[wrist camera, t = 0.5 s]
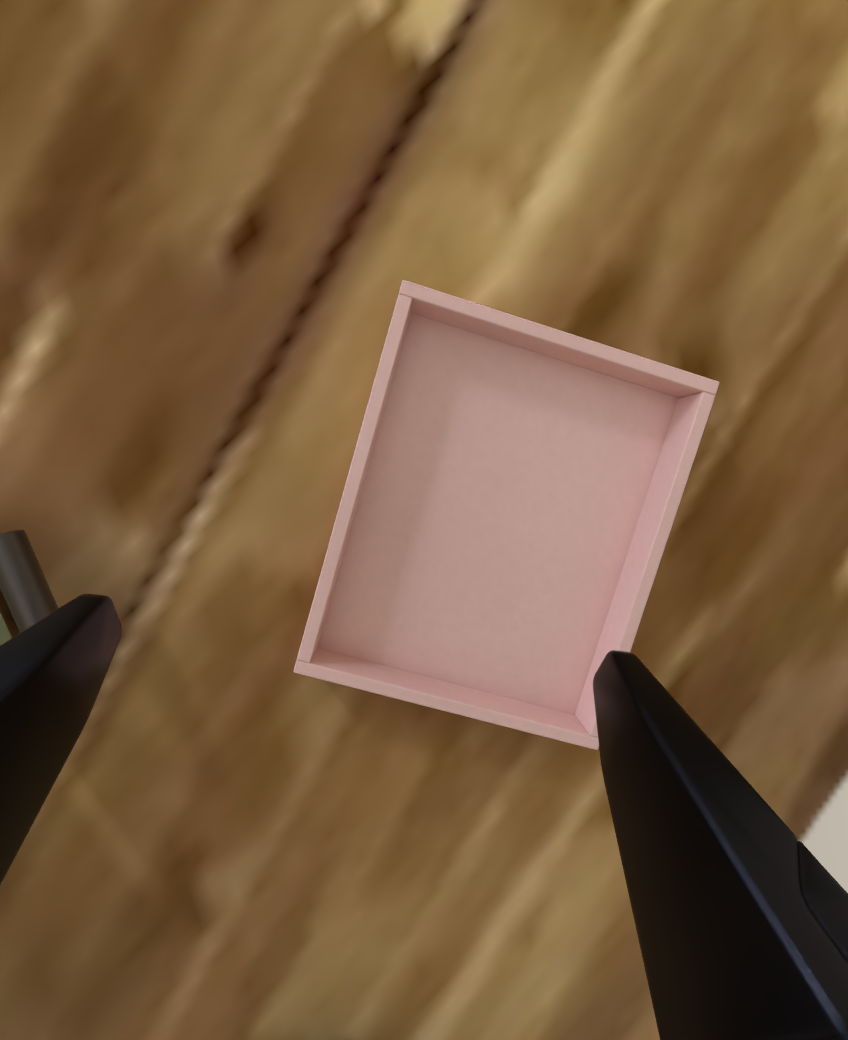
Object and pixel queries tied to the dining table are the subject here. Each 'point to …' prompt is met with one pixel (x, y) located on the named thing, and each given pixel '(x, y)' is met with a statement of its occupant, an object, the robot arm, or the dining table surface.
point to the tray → (501, 516)
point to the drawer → (22, 583)
